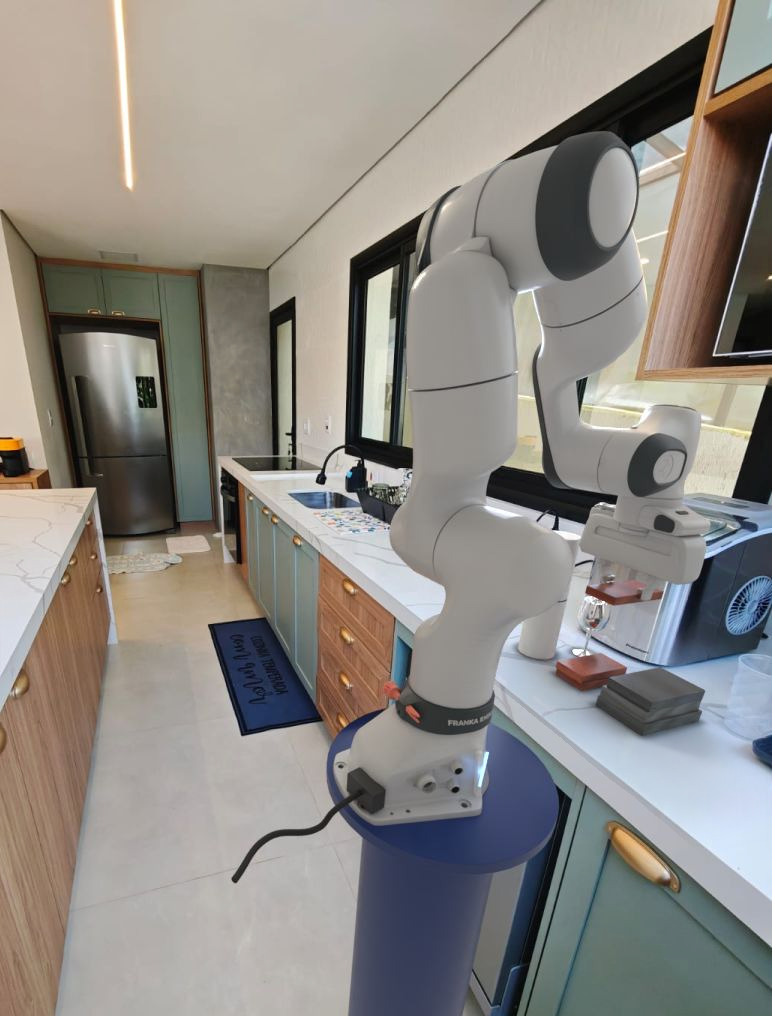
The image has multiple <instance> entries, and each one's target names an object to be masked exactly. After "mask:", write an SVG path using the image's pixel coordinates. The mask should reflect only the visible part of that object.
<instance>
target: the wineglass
mask: <svg viewBox="0 0 772 1016" xmlns="http://www.w3.org/2000/svg"><path fill="white" fill-rule="evenodd" d="M611 606H612V605H611V604H608V603H606V602H604V601H601V600H599V599H597V598H595V597H592V596H585V597H584V599H583V601H582V602H581V604H580V607H579V608H578V612H577V622H578V624H579V626H580V627H582V628H583V629H585V630H587V632H586V633H585V637H586V639H585V644H584V647H583V648H574V649H572V654H573V655H575V656H576V657H582V656H587V655H593V654H595V652H593V651H591V650H589V649H588V645H589V642H590V639H591V638H592V636H593V632H598V631H602V630H604V629H605V628H606V627H607V626H608V625H609V623H610V620H611V615H612V614H611V613H612V607H611Z"/></svg>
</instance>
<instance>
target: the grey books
mask: <svg viewBox="0 0 772 1016" xmlns="http://www.w3.org/2000/svg"><path fill="white" fill-rule="evenodd" d="M600 689H601V690H600V693H599V695H597V698H596V701H595V706H596V707H597V708H599V709H600V710H602V711H603V712H605V713H606V714H608V715H610V717H613V718H614V719H616V720H617V721H618V722H620V723H622V724H623V725H625V726H626V727H628V728H629V729H630V730H632V731H634V732H635V733H636V734H638V735H639V736H641V737H643V736H647V735H651V734H654V733H659V732H663V731H666V730H670V729H673V728H679V727H682V726H685V725H690V724H693V723H696V722H697V723H698V722H700V719H701V717H702V713H703V710H702V709H700V706H701V703H702V700H703V698H704V696H705V693H706V690H705V689H704V688H702V687H700V686H698V685H696V684H694V683H692V682H690V681H688V680H686V679H684V678H682V677H680V676H679V675H676V674H675V673H673V672H671V671H669V670H667V669H665V668H663V667H661V666H658V667H653V668H648V669H643V670H637V671H634V672H629V673H626V674H623V675H618V676H613V677H609V680H608V683H607V685H604V686H602V687H601V688H600Z"/></svg>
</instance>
